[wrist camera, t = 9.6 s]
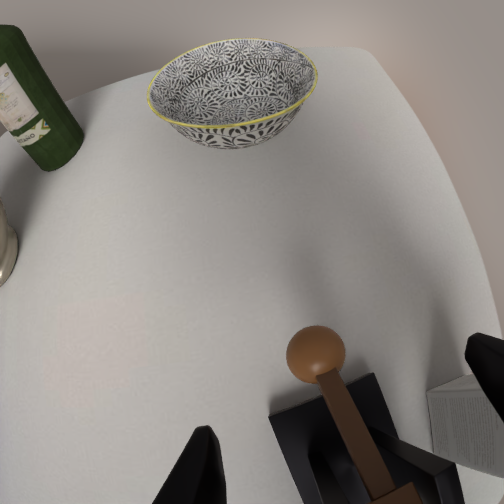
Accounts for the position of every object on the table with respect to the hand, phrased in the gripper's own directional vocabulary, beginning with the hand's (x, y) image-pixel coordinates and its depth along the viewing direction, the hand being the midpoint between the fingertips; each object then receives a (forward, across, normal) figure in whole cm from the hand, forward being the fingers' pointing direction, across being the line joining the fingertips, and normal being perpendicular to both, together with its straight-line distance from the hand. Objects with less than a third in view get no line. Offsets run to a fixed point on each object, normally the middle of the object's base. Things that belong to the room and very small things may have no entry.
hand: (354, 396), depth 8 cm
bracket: (+5, -1, +14) cm, 15 cm away
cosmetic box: (+5, -10, +14) cm, 18 cm away
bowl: (+28, 0, -9) cm, 30 cm away
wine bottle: (+33, +23, -15) cm, 43 cm away
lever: (+2, -1, +7) cm, 7 cm away
